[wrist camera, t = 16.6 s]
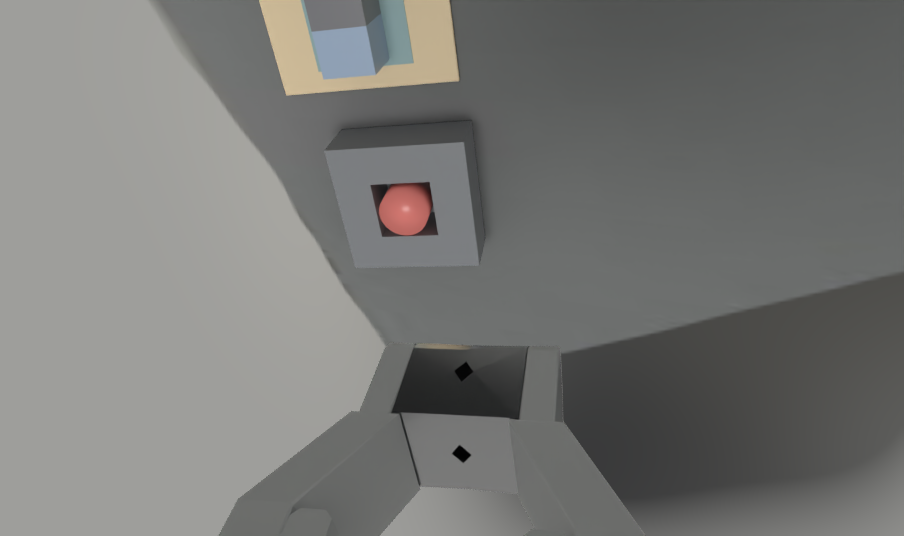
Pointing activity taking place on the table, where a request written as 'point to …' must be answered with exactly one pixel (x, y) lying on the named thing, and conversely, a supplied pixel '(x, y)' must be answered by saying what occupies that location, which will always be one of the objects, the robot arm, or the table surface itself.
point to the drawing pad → (407, 36)
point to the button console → (409, 161)
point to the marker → (348, 37)
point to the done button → (406, 207)
